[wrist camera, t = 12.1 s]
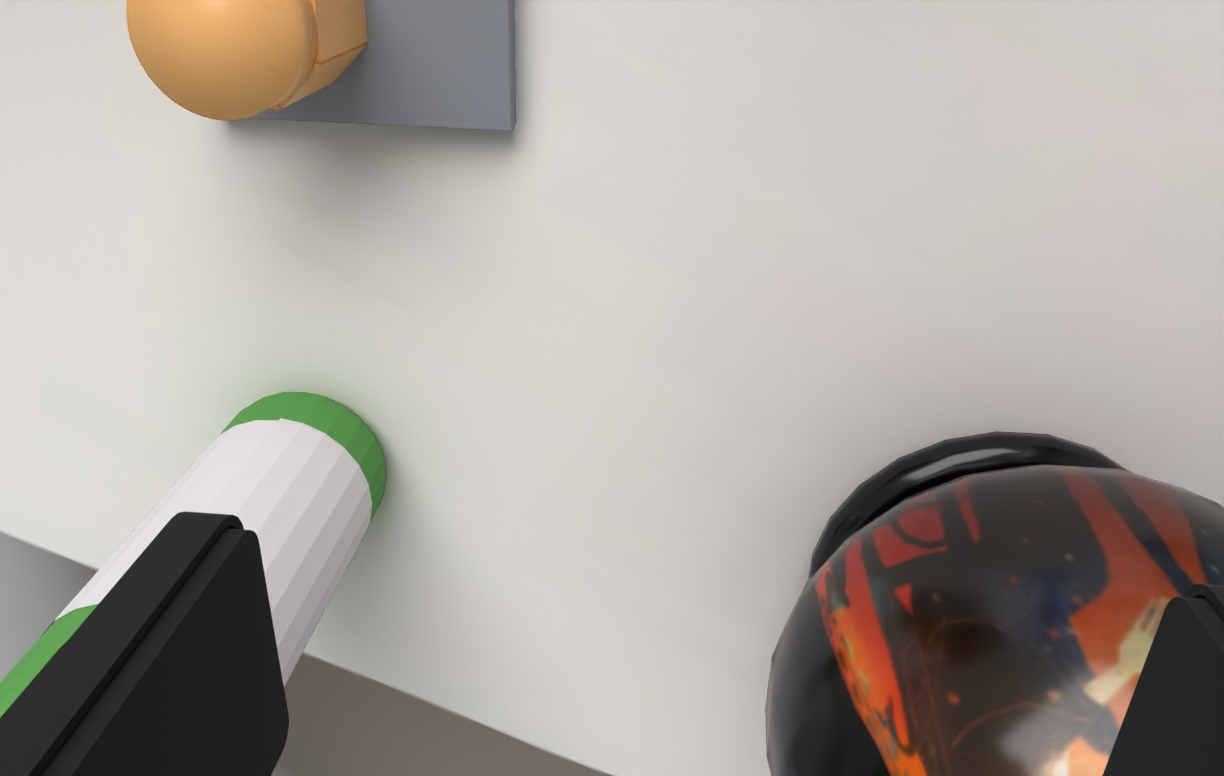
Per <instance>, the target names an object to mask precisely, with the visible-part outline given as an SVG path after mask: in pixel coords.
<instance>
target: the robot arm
mask: <svg viewBox="0 0 1224 776" xmlns="http://www.w3.org/2000/svg"><path fill="white" fill-rule="evenodd" d="M288 725H289V718H288V709H287V703H286V697H285V692H284V685H283V680H282V674H281V668H280V662H279V656H278V650H277V644H276V638H275V632H274V627H273V621H272V615H271V609H270V603H269V597H268V591H267V585H266V579H265V574H264V568H263V562H262V556H261V550H260V544H259V540H258V536H257V535H256V533H255V532H254V531H252V530H244V528H243V524H242V522H241V521H240V519H239V518H238V517H237V516H235V515H228V514H214V513H200V512H186V511H183V512H180V513H177V514H176V515H175V516H174V517H172V518H171V519H170V520H169V522H168V523H167V524H166V525H165V526H164V528H163V529H162V530H161V531H160V532H159V533H158V535H157V536H156V537H155V538H154V539H153V541H152V542H151V543H150V544H149V545H148V546H147V548H146V549H145V550H144V551H143V552H142V553H141V555H140V556H139V557H138V558H137V559H136V561H135V562H134V563H133V564H132V565H131V566H130V568H129V569H128V570H127V571H126V572H125V573H124V575H123V576H122V577H121V578H120V579H119V581H118V582H117V583H116V584H115V585H114V586H113V588H112V589H111V590H110V591H109V592H108V594H107V595H106V596H105V597H104V598H103V599H102V601H101V602H100V603H99V604H98V605H97V606H96V608H95V609H94V610H93V611H92V612H91V614H90V615H89V616H88V617H87V618H86V619H85V621H84V622H83V623H82V624H81V625H80V627H79V628H78V629H77V630H76V631H75V632H74V634H73V635H72V636H71V637H70V638H69V639H68V641H67V642H66V643H65V644H63V645H62V646H61V647H60V648H59V649H58V651H57V652H56V653H55V654H54V655H53V656H52V658H51V659H50V660H49V661H48V662H47V663H46V665H45V666H44V667H43V668H42V669H41V671H40V672H39V673H38V674H37V675H36V676H35V678H34V679H33V680H32V681H31V682H30V683H29V685H28V686H27V687H26V688H25V689H24V690H23V692H22V693H21V694H20V695H19V696H18V698H17V699H16V700H15V701H14V702H13V703H12V705H11V706H10V707H9V708H8V709H7V710H6V712H5V713H4V714H3V715H2V716H1V718H0V776H271V774H272V772H273V770H274V768H275V766H276V764H277V761H278V759H279V757H280V755H281V753H282V751H283V748H284V746H285V742H286V738H287V732H288ZM1103 776H1224V585H1211V584H1196V585H1192V586H1191V587H1190V588H1189V589H1188V590H1186V592H1185V594H1184V596H1183V597H1175V598H1172V599H1171V600H1170V601H1169V602H1168V604H1167V606H1166V608H1165V610H1164V612H1163V615H1162V618H1161V620H1160V623H1159V626H1158V628H1157V631H1156V634H1155V636H1154V639H1153V642H1152V645H1151V647H1150V650H1149V653H1148V655H1147V658H1146V661H1145V663H1144V666H1143V669H1142V671H1141V674H1140V677H1139V679H1138V682H1137V685H1136V687H1135V690H1134V693H1133V695H1132V698H1131V701H1130V703H1129V706H1128V709H1127V711H1126V714H1125V717H1124V719H1123V722H1122V725H1121V727H1120V730H1119V733H1118V735H1117V738H1116V741H1115V743H1114V746H1113V749H1112V751H1111V754H1110V757H1109V759H1108V762H1107V765H1106V768H1105V770H1104V773H1103Z"/></svg>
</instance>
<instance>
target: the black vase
mask: <svg viewBox="0 0 1224 776" xmlns="http://www.w3.org/2000/svg"><path fill="white" fill-rule="evenodd" d="M1196 584H1211V585H1224V507H1223V506H1221V505H1220V504H1218V503H1216V502H1214V501H1212V500H1209V499H1207V498H1204V497H1202V496H1200V495H1197V494H1195V493H1193V492H1190V491H1188V490H1186V489H1183V488H1180V487H1176V486H1173V485H1170V484H1166V483H1163V482H1160V481H1157V480H1153V479H1150V478H1147V477H1143V476H1140V475H1137V474H1134V473H1132V472H1130V471H1129V470H1127V469H1126V468H1124V467H1122V466H1121V465H1119V464H1118V463H1116V462H1114V461H1113V460H1111V459H1110V458H1108V457H1107V456H1105V455H1103V454H1102V453H1100V452H1099V451H1097V450H1095V449H1094V448H1091V447H1088V446H1084V445H1081V444H1078V443H1074V442H1071V441H1068V440H1065V439H1061V438H1058V437H1055V436H1052V435H1048V434H1033V433H1014V432H991V433H985V434H979V435H973V436H967V437H961V438H954V439H948V440H944V441H942V442H939V443H937V444H934V445H931V446H929V447H926V448H924V449H921V450H919V451H916V452H913V453H911V454H908V455H906V456H903V457H901V458H898V459H897V460H895V461H894V462H892V463H891V464H890V465H888V466H887V467H885V468H884V469H882V470H881V471H879V472H878V473H876V474H875V475H873V476H872V477H871V478H869V479H868V480H866V481H865V482H863V483H862V484H860V485H859V486H858V487H857V488H856V489H855V491H854V492H853V493H852V494H851V495H850V496H849V497H848V498H847V499H846V501H845V502H844V503H843V504H842V505H841V506H840V507H839V508H838V510H837V511H836V512H835V513H834V514H833V515H832V516H831V517H830V519H829V521H828V523H827V525H826V527H825V529H824V531H823V533H822V535H821V537H820V539H819V541H818V543H817V545H816V547H815V549H814V551H813V553H812V560H811V567H810V574H809V581H808V582H807V583H806V585H805V587H804V589H803V591H802V593H801V595H800V597H799V599H798V601H797V603H796V605H795V607H794V609H793V611H792V613H791V615H790V617H789V619H788V621H787V623H786V625H785V627H784V629H783V631H782V633H781V636H780V638H779V641H778V643H777V646H776V648H775V650H774V653H773V655H772V659H771V667H770V675H769V683H768V691H767V699H766V707H765V714H766V750H767V760H768V764H769V768H770V772H771V776H1103V773H1104V770H1105V768H1106V765H1107V762H1108V759H1109V757H1110V754H1111V751H1112V749H1113V746H1114V743H1115V741H1116V738H1117V735H1118V733H1119V730H1120V727H1121V725H1122V722H1123V719H1124V717H1125V714H1126V711H1127V709H1128V706H1129V703H1130V701H1131V698H1132V695H1133V693H1134V690H1135V687H1136V685H1137V682H1138V679H1139V677H1140V674H1141V671H1142V669H1143V666H1144V663H1145V661H1146V658H1147V655H1148V653H1149V650H1150V647H1151V645H1152V642H1153V639H1154V636H1155V634H1156V631H1157V628H1158V626H1159V623H1160V620H1161V618H1162V615H1163V612H1164V610H1165V608H1166V606H1167V604H1168V602H1169V601H1170V600H1171V599H1172V598H1175V597H1183V596H1184V594H1185V592H1186V590H1188V589H1189V588H1190V587H1191V586H1192V585H1196Z"/></svg>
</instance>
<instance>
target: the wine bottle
mask: <svg viewBox="0 0 1224 776" xmlns="http://www.w3.org/2000/svg"><path fill="white" fill-rule="evenodd" d="M385 481H386V467H385V461H384V455H383V451H382V449H381V447H380V445H379V443H378V441H377V439H376V437H375V435H374V433H373V432H372V431H371V430H370V428H369V427H368V426H367V425H366V424H365V422H364V421H363V420H362V419H361V418H360V417H359V416H357V415H356V414H355V413H353V412H352V411H351V410H350V409H348V408H347V407H346V406H344V405H342V404H340V403H338V402H335V401H333V400H331V399H329V398H327V397H324V396H319V395H315V394H311V393H306V392H283V393H279V394H276V395H272V396H268V397H264V398H262V399H260V400H258V401H257V402H255V403H253V404H252V405H250V406H248V407H247V408H245V409H243V410H242V411H241V412H240V413H239V414H238V415H237V416H236V417H235V418H234V419H233V420H232V422H231V423H230V424H229V425H228V426H227V427H226V428H225V429H224V431H223V432H222V433H221V434H220V435H218V436H217V437H216V439H215V440H214V441H213V442H212V443H211V444H210V445H209V446H208V448H207V449H206V450H205V451H204V452H203V453H202V454H201V455H200V457H199V458H198V459H197V460H196V461H195V462H194V463H193V465H192V466H191V467H190V468H189V469H188V470H187V471H186V472H185V474H184V475H183V476H182V477H181V478H180V479H179V480H178V481H177V483H176V484H175V485H174V486H173V487H172V488H171V489H170V491H169V492H168V493H167V494H166V495H165V496H164V497H163V498H162V500H161V501H160V502H159V503H158V504H157V505H156V506H155V507H154V509H153V510H152V511H151V512H150V513H149V514H148V515H147V516H146V518H145V519H144V520H143V521H142V522H141V523H140V524H139V526H138V527H137V528H136V529H135V530H134V531H133V532H132V533H131V535H130V536H129V537H128V538H127V539H126V540H125V541H124V542H123V544H122V545H121V546H120V547H119V548H118V549H117V550H116V552H115V553H114V554H113V555H112V556H111V557H110V558H109V559H108V561H107V562H106V563H105V564H104V565H103V566H102V567H101V568H100V570H99V571H98V572H97V573H96V574H95V575H94V576H93V578H92V579H91V580H90V581H89V582H88V583H87V584H86V586H85V587H84V588H83V589H82V590H81V591H80V592H79V593H78V595H77V596H76V597H75V598H74V599H73V600H72V601H71V602H70V603H69V605H68V606H67V607H66V608H65V609H64V610H63V611H62V613H61V614H60V615H59V616H58V617H57V618H56V619H55V620H54V622H53V623H52V624H51V625H50V627H49V628H48V629H47V630H46V631H45V632H44V634H43V635H42V636H41V637H40V639H39V640H38V641H37V642H36V643H35V644H34V645H33V647H32V648H31V649H30V650H29V651H28V652H27V653H26V654H25V655H24V657H23V658H22V659H21V660H20V661H19V662H18V663H17V665H16V666H15V667H14V668H13V669H12V670H11V671H10V673H9V674H8V675H7V676H6V677H5V678H4V679H3V681H2V682H1V683H0V718H1V716H2V715H3V714H4V713H5V712H6V710H7V709H8V708H9V707H10V706H11V705H12V703H13V702H14V701H15V700H16V699H17V698H18V696H19V695H20V694H21V693H22V692H23V690H24V689H25V688H26V687H27V686H28V685H29V683H30V682H31V681H32V680H33V679H34V678H35V676H36V675H37V674H38V673H39V672H40V671H41V669H42V668H43V667H44V666H45V665H46V663H47V662H48V661H49V660H50V659H51V658H52V656H53V655H54V654H55V653H56V652H57V651H58V649H59V648H60V647H61V646H62V645H63V644H65V643H66V642H67V641H68V639H69V638H70V637H71V636H72V635H73V634H74V632H75V631H76V630H77V629H78V628H79V627H80V625H81V624H82V623H83V622H84V621H85V619H86V618H87V617H88V616H89V615H90V614H91V612H92V611H93V610H94V609H95V608H96V606H97V605H98V604H99V603H100V602H101V601H102V599H103V598H104V597H105V596H106V595H107V594H108V592H109V591H110V590H111V589H112V588H113V586H114V585H115V584H116V583H117V582H118V581H119V579H120V578H121V577H122V576H123V575H124V573H125V572H126V571H127V570H128V569H129V568H130V566H131V565H132V564H133V563H134V562H135V561H136V559H137V558H138V557H139V556H140V555H141V553H142V552H143V551H144V550H145V549H146V548H147V546H148V545H149V544H150V543H151V542H152V541H153V539H154V538H155V537H156V536H157V535H158V533H159V532H160V531H161V530H162V529H163V528H164V526H165V525H166V524H167V523H168V522H169V520H170V519H171V518H172V517H174V516H175V515H176V514H177V513H180V512H183V511H186V512H200V513H214V514H228V515H235V516H237V517H238V518H239V519H240V521H241V522H242V524H243V528H244V530H252V531H254V532H255V533H256V535H257V536H258V540H259V544H260V550H261V556H262V562H263V568H264V574H265V579H266V585H267V591H268V597H269V603H270V609H271V615H272V621H273V627H274V632H275V638H276V644H277V650H278V656H279V662H280V668H281V674H282V680H283V685H284V686H285V684H286V683H287V681H288V679H289V677H290V675H291V673H292V671H293V669H294V667H295V666H296V664H297V662H298V660H299V658H300V656H301V654H302V652H303V650H304V648H305V647H306V645H307V643H308V641H309V639H310V637H311V635H312V633H313V631H314V629H315V628H316V626H317V624H318V622H319V620H320V618H321V616H322V614H323V612H324V610H325V609H326V607H327V605H328V603H329V601H330V599H331V597H332V595H333V593H334V591H335V590H336V588H337V586H338V584H339V582H340V580H341V578H342V576H343V574H344V572H345V571H346V569H347V567H348V565H349V563H350V561H351V559H352V557H353V555H354V553H355V552H356V550H357V548H358V546H359V544H360V542H361V540H362V538H363V536H364V534H365V532H366V530H367V528H368V526H369V523H370V522H371V520H372V518H373V516H374V514H375V512H376V510H377V508H378V506H379V504H380V502H381V500H382V497H383V495H384V488H385Z"/></svg>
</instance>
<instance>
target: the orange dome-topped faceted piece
mask: <svg viewBox="0 0 1224 776" xmlns="http://www.w3.org/2000/svg"><path fill="white" fill-rule="evenodd" d="M127 24H128V31H129V35H130V39H131V43H132V45H133V48H134V51H135V53H136V55H137V57H138V59H139V61H140V63H141V65H142V67H143V68H144V70H145V72H146V73H147V75H148V76H149V77H150V78H151V80H152V81H153V82H154V84H155V85H156V86H157V87H158V88H159V89H160V90H161V91H162V92H163V93H164V94H165V95H166V96H168V97H169V98H170V99H171V100H172V101H174V102H175V103H177V104H178V105H180V106H181V107H183V108H185V109H187V110H189V111H191V112H193V113H195V114H198V115H200V116H203V117H207V118H211V119H217V120H238V119H244V118H248V117H251V116H254V115H256V114H258V113H260V112H262V111H264V110H266V109H279V110H280V109H282V108H284V107H286V106H288V105H290V104H292V103H294V102H296V101H298V100H300V99H302V98H304V97H306V96H308V95H310V94H312V93H314V92H316V91H318V90H320V89H322V88H324V87H326V86H328V85H330V84H332V83H334V81H335V80H336V79H337V78H338V77H339V76H340V75H341V74H342V72H343V71H344V70H345V69H346V68H347V67H348V66H349V65H350V63H351V62H352V61H353V60H354V59H355V58H356V57H357V55H358V54H359V53H360V52H361V51H362V50H363V49H364V48H365V46H366V44H365V42H368V38H367V26H366V13H365V1H364V0H127Z"/></svg>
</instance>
